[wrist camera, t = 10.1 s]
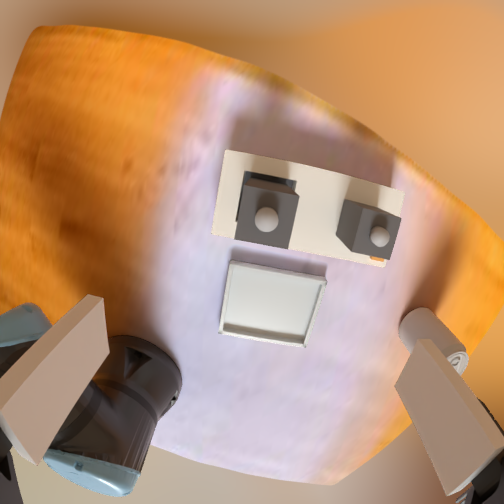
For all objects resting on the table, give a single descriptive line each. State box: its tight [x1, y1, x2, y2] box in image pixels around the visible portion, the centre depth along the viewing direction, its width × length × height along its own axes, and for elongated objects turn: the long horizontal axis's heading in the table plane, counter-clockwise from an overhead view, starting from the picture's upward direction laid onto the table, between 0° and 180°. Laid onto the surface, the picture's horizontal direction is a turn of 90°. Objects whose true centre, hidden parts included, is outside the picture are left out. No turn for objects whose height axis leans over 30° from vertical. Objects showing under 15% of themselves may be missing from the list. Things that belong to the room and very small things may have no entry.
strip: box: [211, 150, 405, 268], centre depth 28 cm, size 20×9×11 cm, turn 80°
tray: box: [218, 260, 327, 347], centre depth 36 cm, size 12×10×2 cm
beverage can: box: [399, 307, 469, 376], centre depth 32 cm, size 6×6×12 cm
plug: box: [234, 177, 300, 249], centre depth 26 cm, size 4×4×13 cm
